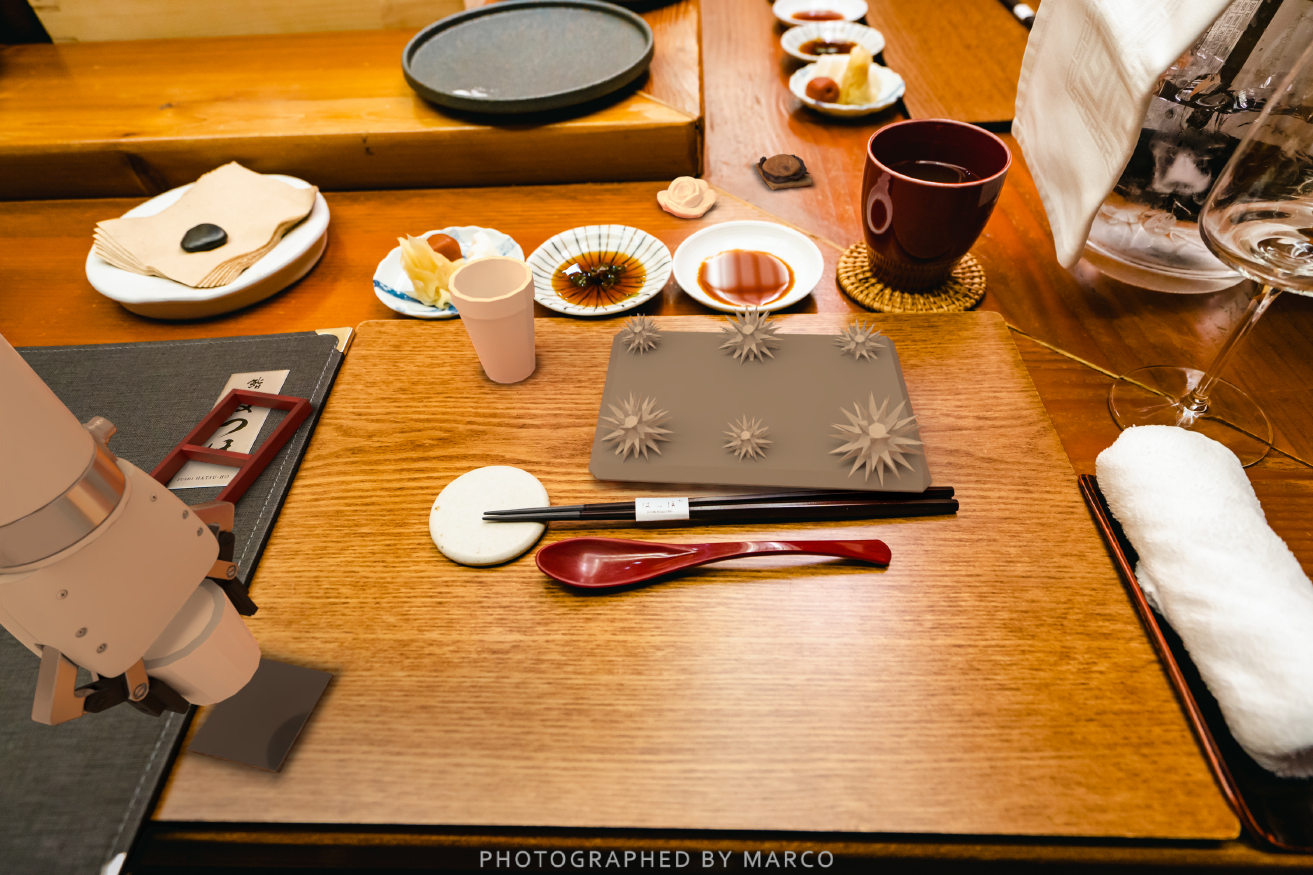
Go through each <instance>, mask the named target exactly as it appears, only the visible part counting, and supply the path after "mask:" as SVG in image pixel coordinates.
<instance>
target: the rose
mask: <svg viewBox="0 0 1313 875" xmlns="http://www.w3.org/2000/svg"><path fill="white" fill-rule="evenodd" d="M717 199H718V196H717V193H716V191H715V190H714V189H711V188H710V186H709V183H708V182H707V181H706V180H705V179H701V178H694V177H692V176H678V177H677V178H675V179H674V180H672V181H671V183H670V184H669V185H668V188H667V189H664V190H659V191H657V194H656V200H657V202H658V203H659V204H658V205H660V206H661V208H662V210H663V211H665V212H668V213H669V214H672V215H674V216H675V217H677V218H682V219H697V218H701V217H703V215H704V214H705V213H706V212H708V211H709V210H710V209H711V208H712V207H713V205H715V203H716V202H717Z"/></svg>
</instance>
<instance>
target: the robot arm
mask: <svg viewBox="0 0 1313 875" xmlns="http://www.w3.org/2000/svg"><path fill="white" fill-rule="evenodd" d="M117 432H118V427H116V425H115V424H114V423H113V422H111V421H110V420H109V419H107V418H105V417H103V416H100V415H95V416H93V417H92V418H91V419H90V420H89V421H87V423H85V422H84V423H81V421H79V419H78V418H77V417H76V416H75V414H73V412H72V411H71V410H70V409H69V408H68V407H67V406H66V404H64V402H62V400H61V399H60V398H59V397H58V396H57V394H55V392H54V391H53V390H52V389H51V388H50V387H49V386H48V385H47V384H46V382H45V381H44V380H43V379H42V378H41V377H40V376H39V375H38V374H37V373H36V371H35V370H34V369H33V368H32V367H31V366H30V365H29V364H28V362H27V360H25V359H24V358H23V357H22V356H21V354H20V353H19V352H18V351H17V350H16V349H15V348H14V346H12V344H11V343H10V342H9V341H8V340H7V339H6V338H5V337H4V335H3V334H2V333H1V332H0V625H1V626H2V627H3V628H4V629H5V630H7V631H8V632H9V633H10V634H11V635H12V636H13V637H14V638H15V639H16V640H18V642H20V643H21V644H22V645H24V647H26V648H27V649H28V650H29V651H31V652H32V653H33V654H35V655H36V656H37V657H39V658H40V664H39V670H38V675H37V680H36V687H35V693H34V697H33V704H32V708H31V714H30V715H31V720H32V721H33V722H35V723H40V724H43V725H47V726H51V727H56V726H59V725H63V724H66V723H69V722H72V721H74V720H77V719H80V718H82V717H83V716H84V715H88V714H99V713H102V712H104V711H106V710H108V709H109V710H110V709H111V708H113V707H116V706H118V705H122V704H123V703H125V702H126V703H127V704H129V705H130V706H131V707H133V708H134V709H136V710H137V711H139V712H141V713H142V714H145V715H148V716H151V717H157V718H160V717H161V715H162V714H163V713H164V711H168V712H171V713H174V714H175V713H176V714H180V715H186V714H187V712H188V711H189V709H190V708H191V706H190V704H191V703H190V702H189V701H187V700H186V699H185V698H183V697H182V696H181V695H180V694H178V693H177V692H176V691H175V690H173V689H172V688H171V687H170V686H168V685H167V684H166V683H165V682H163V681H162V680H159V679H155V678H151V677H147V672H146V668H145V664H144V659H143V655H144V653H145V652H146V651H147V650H148V649H149V648H150V646H151V645H152V644H153V643H154V641H155V640H156V639H157V638H158V636H159V635H160V634H161V633H162V632H163V630H164V629H165V628H166V626H167V625H168V624H169V623H170V621H171V620H172V619H173V618H174V616H175V615H176V614H177V613H178V611H179V610H180V609H181V608H182V606H183V605H184V604H185V602H186V601H187V600H188V599H189V597H190V596H191V595H192V593H193V592H194V591H195V590H196V588H197V587H198V586H199V584H200V583H201V582H202V580H203V579H210V580H212V581H213V582H214V583H216V584H217V585H218V586H219V587H221V588H222V589H223V591H224V592H225V594H226V595H227V597H228V598H229V600H230V601H231V603H232V604H233V606H234V607H235V609H236V610H237V612H238V613H239V615H240V616H243V617H249V618H250V617H252V616H255V614H256V613H258V610H259V607H258V605H257V604H256V603H255V602H254V601H253V600H252V599H251V597H250V596H249V594H250V591H249V589H248V588H247V587H246V585H244V583H243V582H242V581H241V579H239V577H237V575H238V574H239V565H238V564H237V563H236V562H234V561H233V560H234V553H235V545H236V535H235V533H233V532H232V529H234V523H235V505H234V504H233V503H230V502H224V501H219V500H215V499H213V500H209V501H204V502H199V503H193V504H189V505H187V504H186V503H185V502H184V501H183V500H181V499H180V498H179V497H178V496H177V495H175V494H174V493H173V492H172V491H170V489H168V488H167V487H166V486H165V485H164V486H163V485H162V484H160V483H159V482H158V481H156V480H155V479H154V478H152V477H151V476H150V475H149V474H148V473H147V472H146V471H144V470H142V468H140V467H138V466H137V465H135V464H133V463H131V462H130V461H129V460H127V459H125V458H122V457H118V456H116V455H115V454H114V453H113V452H112V451H111V450H110V449H109V446H108V444H109V443H110V442H111V438H112V437H113V436H114V435H115V434H116V433H117ZM79 667H81V668H83V669H85V670H86V671H89V672H90V675H91V679H92V682H89V683H86V684H84V685H80V686H78V687H76V685H77V679H78V673H79Z"/></svg>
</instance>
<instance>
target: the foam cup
mask: <svg viewBox="0 0 1313 875" xmlns="http://www.w3.org/2000/svg"><path fill="white" fill-rule="evenodd" d="M447 285H448V286H447V288H448V292H449V295H450V298H451V301H452V305H453V306H454V308H455V309H456V310H457V312H458V314H459V317H460V319H461V322H462V323H463V326H464V328H465V330H466V332H467V335H468V337H469V339H470V341H471V343H472V346H473V348H474V351H475V353H476V355H477V357H478V359H479V362H480V364H481V366H482V368H483V370H484V372H485V374H486V376H487V377H488V379H489V380H490V381H494V382H496V383H498V384H514V383H518V382H522V381H524V380H525V379H527V378H528V377H530V376H531V375H532V374H533V372H534V371H535V370H536V335H535V307H534V306H535V304H534V299H535V297H536V284H535V280H534V275H533V269H532V268H531V266H529V265H528V263H526V262H525V261H524V260H521V259H519V258H515V257H512V256H504V255H503V256H502V255H501V256H499V255H490V256H485V257H480V258H476V259H472V260H469V261H468V262H466V263H464V264H462V265H460V266H458V267H457V268H456V269H455V271H454V272H452V274H450V276H449V278H448V284H447Z"/></svg>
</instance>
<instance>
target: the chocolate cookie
mask: <svg viewBox="0 0 1313 875" xmlns="http://www.w3.org/2000/svg"><path fill="white" fill-rule="evenodd" d="M755 168H756V170H757V172H758V174H760V176H761V179H762V180H763V181H764V182H765V184H767V185H768V187H769V188H770V189H771V190H777V189H784V188H785V189H786V188H791V187H794V188H797V187H798V188H799V187H804V186H813V180H812V179H811V177H810V176H809V175H811V173H810V172H809V171H807V170H808V167H807V166H806V165H805V162H804V160H803V159H802V158H800V157H799V156H798V155H796V154H787V153H779V154H775V155H772V156H770V157H769V158H767V157H766V156H764V155H763V156H761V157H760V158H759V162H757V163H755Z"/></svg>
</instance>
